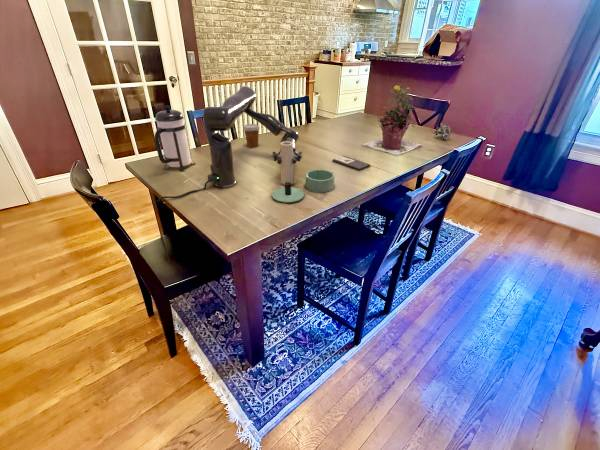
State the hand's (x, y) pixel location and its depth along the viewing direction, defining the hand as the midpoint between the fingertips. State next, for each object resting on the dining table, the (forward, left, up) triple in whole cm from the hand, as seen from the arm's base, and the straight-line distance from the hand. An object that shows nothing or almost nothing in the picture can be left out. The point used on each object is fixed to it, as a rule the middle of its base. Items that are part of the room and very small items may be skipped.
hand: (286, 162), depth 131 cm
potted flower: (+86, -6, -11) cm, 87 cm away
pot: (+10, -11, -11) cm, 19 cm away
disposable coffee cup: (+28, +57, -12) cm, 64 cm away
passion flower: (+122, -22, -12) cm, 124 cm away
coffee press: (-21, +57, -11) cm, 62 cm away
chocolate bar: (+43, -5, -11) cm, 45 cm away
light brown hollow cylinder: (+2, +2, -10) cm, 11 cm away
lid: (-7, -7, -11) cm, 15 cm away
